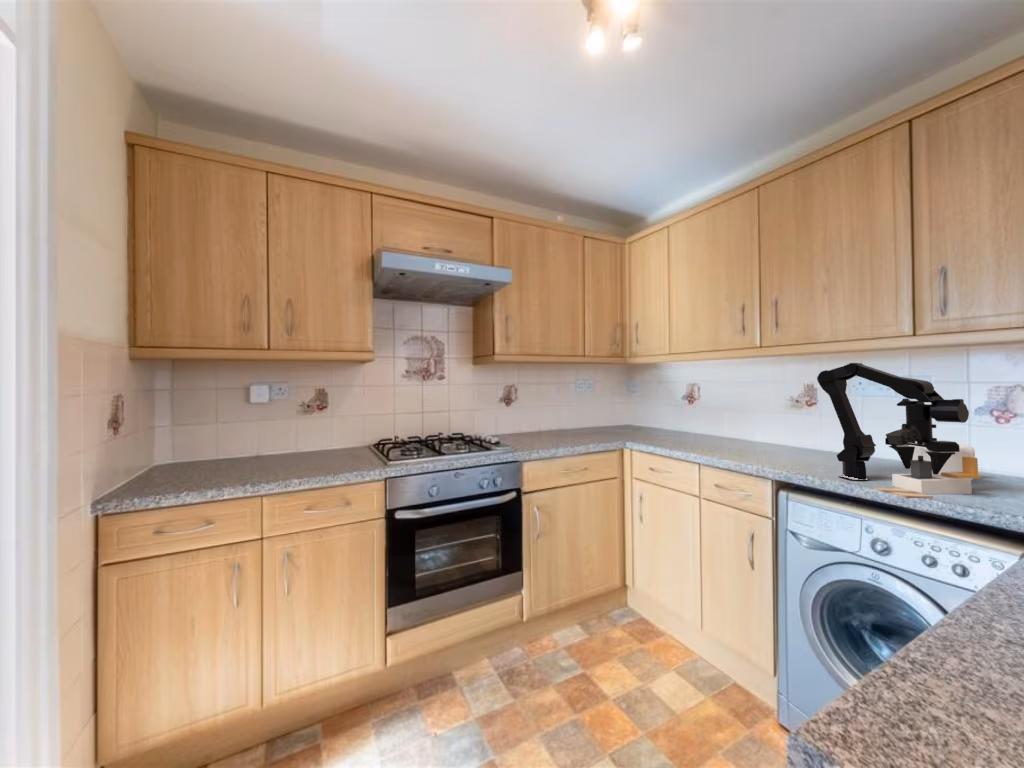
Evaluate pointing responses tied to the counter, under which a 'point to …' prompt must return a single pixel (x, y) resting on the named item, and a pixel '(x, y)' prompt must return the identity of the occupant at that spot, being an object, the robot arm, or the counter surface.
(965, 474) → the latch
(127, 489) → the counter surface
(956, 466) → the cable organizer
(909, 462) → the robot arm
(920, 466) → the plug
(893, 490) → the cork pad
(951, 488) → the white recessed block
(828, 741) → the counter surface
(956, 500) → the counter surface
